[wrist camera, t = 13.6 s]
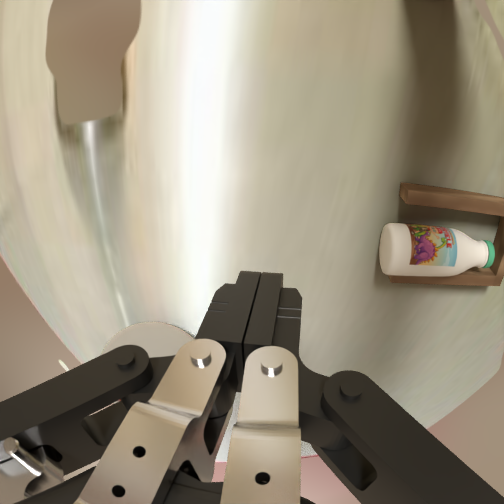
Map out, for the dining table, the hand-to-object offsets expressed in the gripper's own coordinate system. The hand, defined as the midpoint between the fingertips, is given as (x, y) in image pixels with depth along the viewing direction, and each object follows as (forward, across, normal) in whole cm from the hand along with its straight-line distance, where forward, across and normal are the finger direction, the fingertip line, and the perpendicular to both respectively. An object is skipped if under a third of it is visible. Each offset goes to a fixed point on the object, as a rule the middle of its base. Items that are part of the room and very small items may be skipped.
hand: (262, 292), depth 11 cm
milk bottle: (+31, -14, +14) cm, 37 cm away
